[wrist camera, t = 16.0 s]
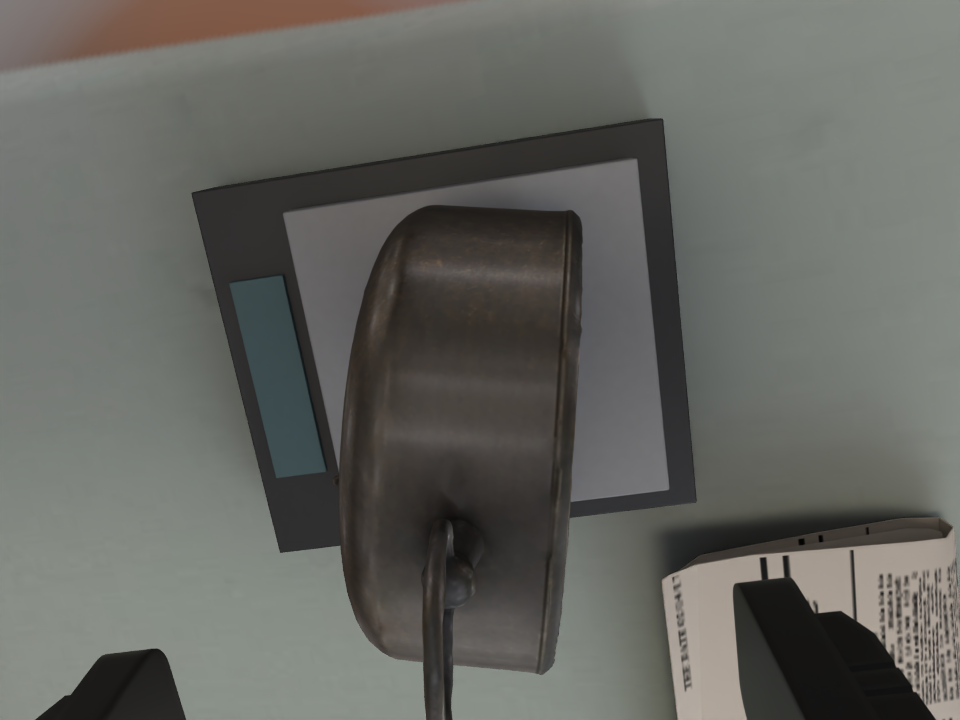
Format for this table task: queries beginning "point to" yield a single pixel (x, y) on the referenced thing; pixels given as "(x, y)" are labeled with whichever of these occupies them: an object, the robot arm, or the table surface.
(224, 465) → the table surface
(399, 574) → the alarm clock
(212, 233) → the scale
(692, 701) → the newspaper
